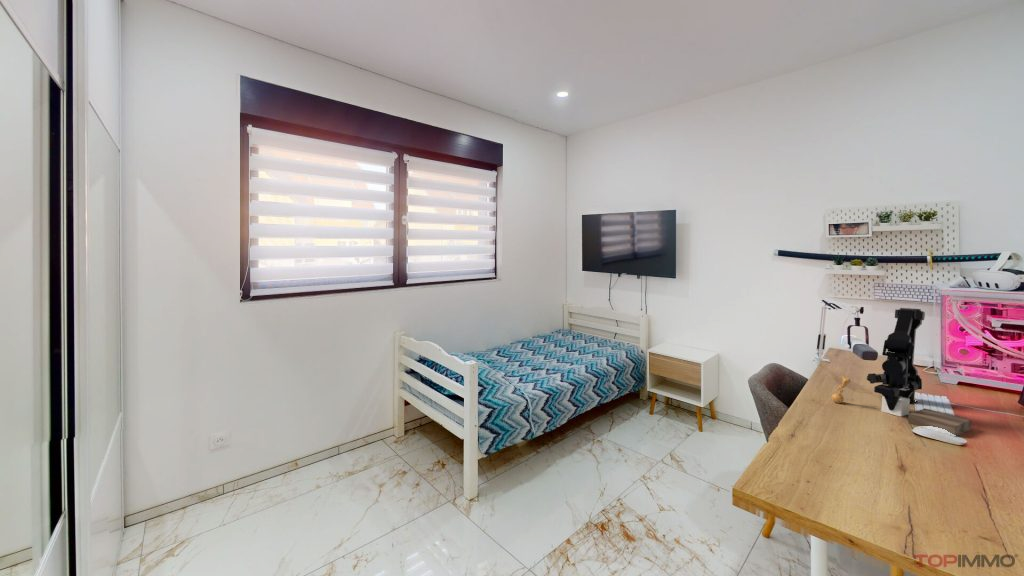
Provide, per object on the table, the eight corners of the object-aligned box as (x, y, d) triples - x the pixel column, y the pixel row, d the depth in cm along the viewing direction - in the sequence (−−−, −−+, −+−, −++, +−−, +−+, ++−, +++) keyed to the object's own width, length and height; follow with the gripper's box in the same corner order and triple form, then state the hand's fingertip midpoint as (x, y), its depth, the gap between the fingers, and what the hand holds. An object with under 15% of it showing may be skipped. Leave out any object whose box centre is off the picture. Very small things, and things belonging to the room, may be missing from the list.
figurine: (835, 399, 170) (836, 372, 169) (853, 403, 164) (854, 375, 164) (827, 403, 165) (828, 375, 164) (845, 407, 160) (846, 379, 159)
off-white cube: (889, 408, 158) (890, 394, 157) (909, 413, 152) (909, 398, 152) (881, 411, 155) (882, 396, 155) (901, 416, 150) (901, 401, 150)
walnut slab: (924, 418, 149) (924, 408, 149) (970, 430, 138) (971, 419, 138) (908, 424, 144) (908, 413, 144) (954, 437, 133) (955, 426, 133)
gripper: (883, 362, 164) (882, 398, 165) (858, 368, 156) (857, 405, 157) (919, 368, 154) (917, 407, 155) (894, 375, 146) (892, 415, 147)
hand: (895, 408), depth 154 cm, fingers closed on off-white cube, 6 cm apart
